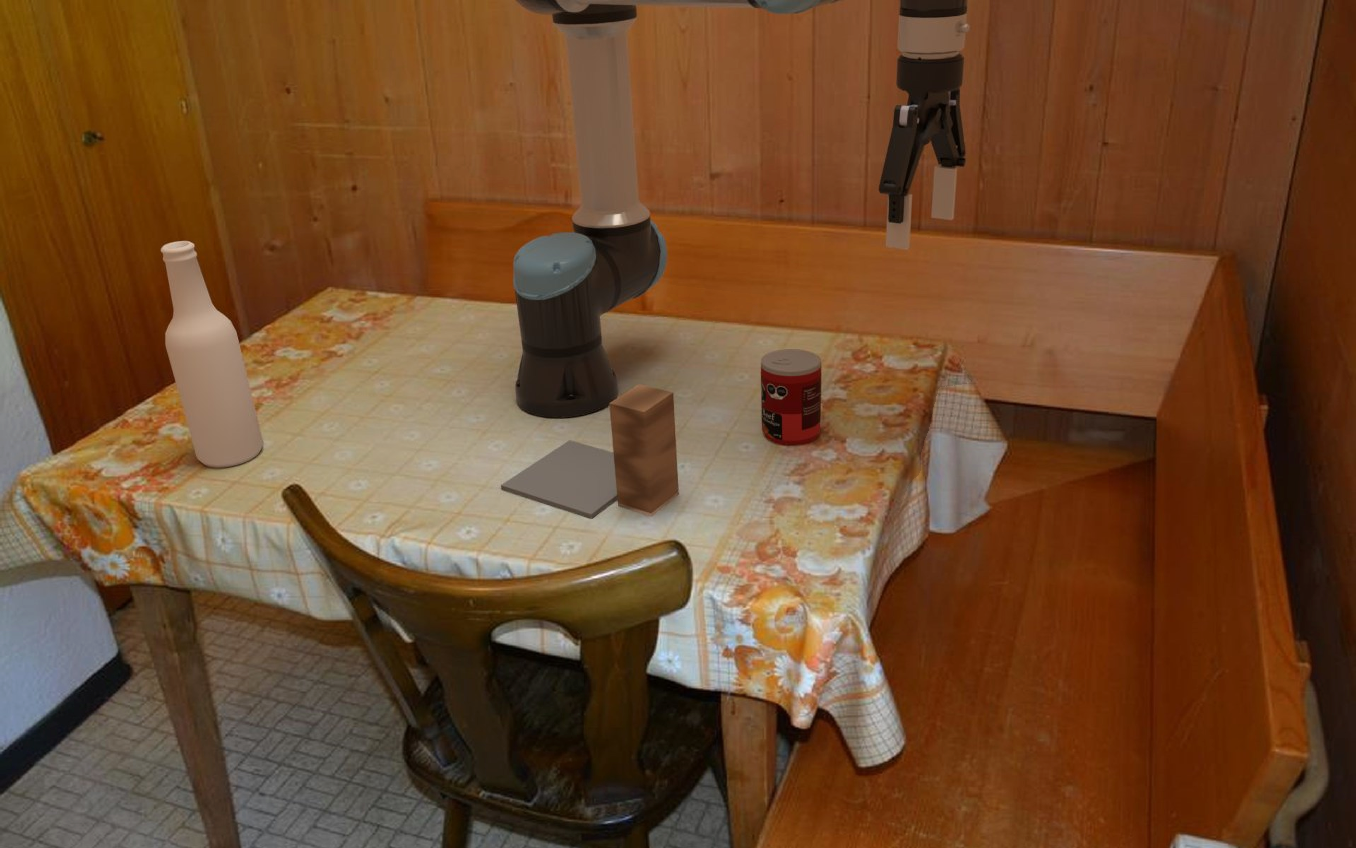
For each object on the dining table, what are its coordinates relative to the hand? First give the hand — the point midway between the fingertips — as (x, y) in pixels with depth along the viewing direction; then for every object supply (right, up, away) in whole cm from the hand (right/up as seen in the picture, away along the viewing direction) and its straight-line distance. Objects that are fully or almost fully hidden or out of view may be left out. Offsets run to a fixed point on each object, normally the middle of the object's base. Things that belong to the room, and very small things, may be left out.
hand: (920, 232), depth 136 cm
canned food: (-15, -25, +14) cm, 32 cm away
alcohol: (-92, -28, +16) cm, 97 cm away
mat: (-43, -31, +5) cm, 53 cm away
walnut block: (-34, -33, 0) cm, 47 cm away
